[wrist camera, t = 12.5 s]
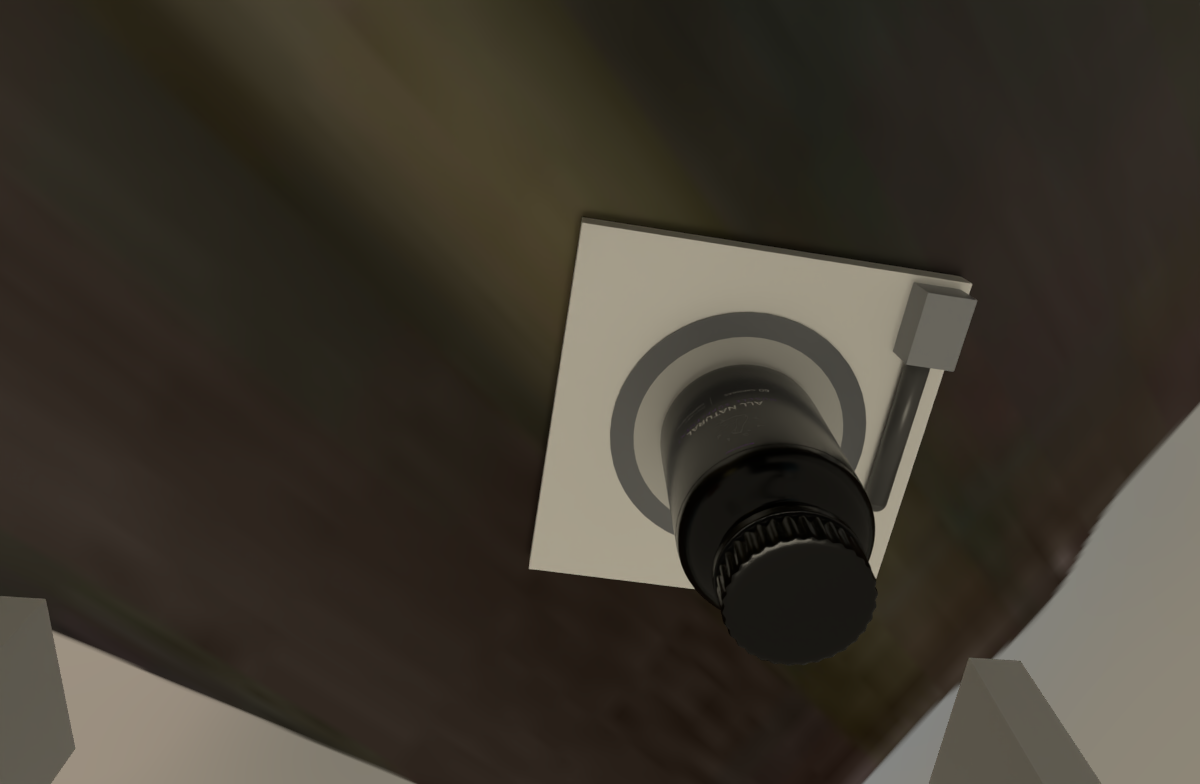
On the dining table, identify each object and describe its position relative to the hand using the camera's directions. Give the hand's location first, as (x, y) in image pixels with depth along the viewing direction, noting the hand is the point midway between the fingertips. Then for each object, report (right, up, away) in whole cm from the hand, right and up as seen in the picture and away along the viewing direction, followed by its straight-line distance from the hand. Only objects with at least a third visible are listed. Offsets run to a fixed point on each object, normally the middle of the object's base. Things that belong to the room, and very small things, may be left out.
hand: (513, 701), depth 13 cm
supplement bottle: (+7, +3, +25) cm, 26 cm away
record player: (+7, +3, +26) cm, 27 cm away
